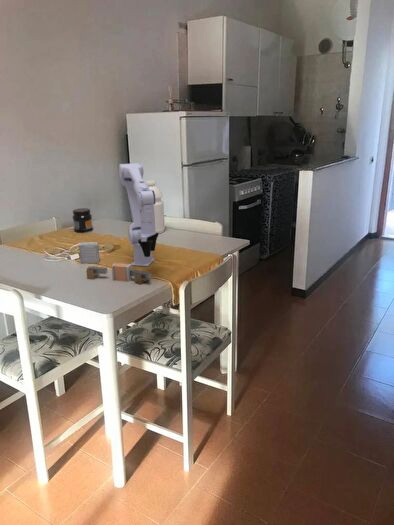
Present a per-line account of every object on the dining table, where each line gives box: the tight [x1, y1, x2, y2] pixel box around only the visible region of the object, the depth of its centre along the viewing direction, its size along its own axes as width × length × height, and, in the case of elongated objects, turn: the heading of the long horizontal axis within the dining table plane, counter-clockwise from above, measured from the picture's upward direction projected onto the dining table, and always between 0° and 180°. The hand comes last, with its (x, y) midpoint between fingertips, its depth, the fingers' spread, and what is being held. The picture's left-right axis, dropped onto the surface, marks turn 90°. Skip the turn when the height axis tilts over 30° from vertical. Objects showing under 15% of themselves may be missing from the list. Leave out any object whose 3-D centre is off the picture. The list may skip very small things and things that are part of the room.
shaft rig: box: [86, 265, 152, 285], centre depth 171 cm, size 7×28×4 cm, turn 77°
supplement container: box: [72, 207, 94, 234], centre depth 241 cm, size 10×10×12 cm
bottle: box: [145, 179, 166, 234], centre depth 233 cm, size 14×14×28 cm
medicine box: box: [78, 241, 101, 264], centre depth 191 cm, size 8×4×9 cm, turn 92°
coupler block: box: [111, 262, 133, 282], centre depth 171 cm, size 4×7×6 cm, turn 77°
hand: (149, 253), depth 173 cm, fingers open, 7 cm apart
